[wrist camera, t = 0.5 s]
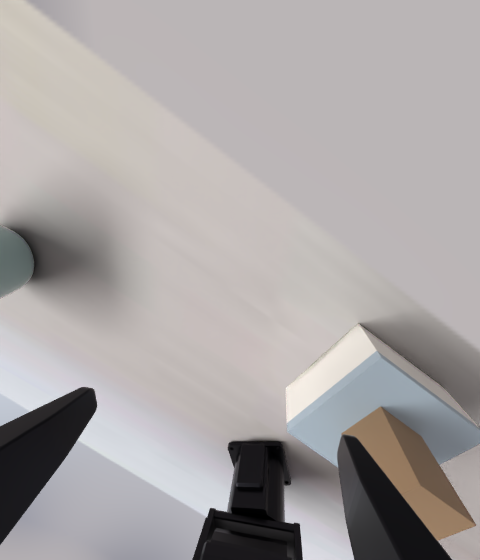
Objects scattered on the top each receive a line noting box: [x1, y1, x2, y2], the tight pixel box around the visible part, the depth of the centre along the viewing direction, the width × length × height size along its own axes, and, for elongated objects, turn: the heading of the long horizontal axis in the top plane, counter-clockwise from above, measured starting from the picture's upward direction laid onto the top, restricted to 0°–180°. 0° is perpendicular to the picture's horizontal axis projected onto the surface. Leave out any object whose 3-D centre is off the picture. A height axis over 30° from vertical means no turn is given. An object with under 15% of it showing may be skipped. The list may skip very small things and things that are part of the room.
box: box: [286, 323, 480, 428], centre depth 20 cm, size 10×10×4 cm
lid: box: [287, 351, 480, 541], centre depth 15 cm, size 10×10×6 cm
